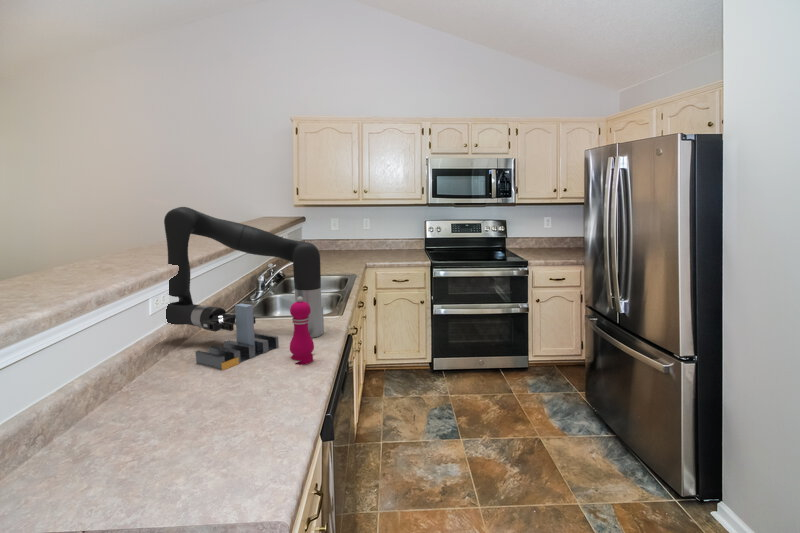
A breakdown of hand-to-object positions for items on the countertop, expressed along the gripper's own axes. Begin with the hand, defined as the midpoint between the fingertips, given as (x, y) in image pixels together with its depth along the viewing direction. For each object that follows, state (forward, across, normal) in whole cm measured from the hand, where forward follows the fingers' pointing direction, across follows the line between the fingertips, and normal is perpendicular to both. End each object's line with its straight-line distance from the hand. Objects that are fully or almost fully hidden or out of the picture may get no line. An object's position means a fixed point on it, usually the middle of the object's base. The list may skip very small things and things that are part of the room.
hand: (243, 323), depth 140 cm
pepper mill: (+18, +5, +11) cm, 22 cm away
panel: (0, 0, +9) cm, 9 cm away
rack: (0, -3, +10) cm, 11 cm away
